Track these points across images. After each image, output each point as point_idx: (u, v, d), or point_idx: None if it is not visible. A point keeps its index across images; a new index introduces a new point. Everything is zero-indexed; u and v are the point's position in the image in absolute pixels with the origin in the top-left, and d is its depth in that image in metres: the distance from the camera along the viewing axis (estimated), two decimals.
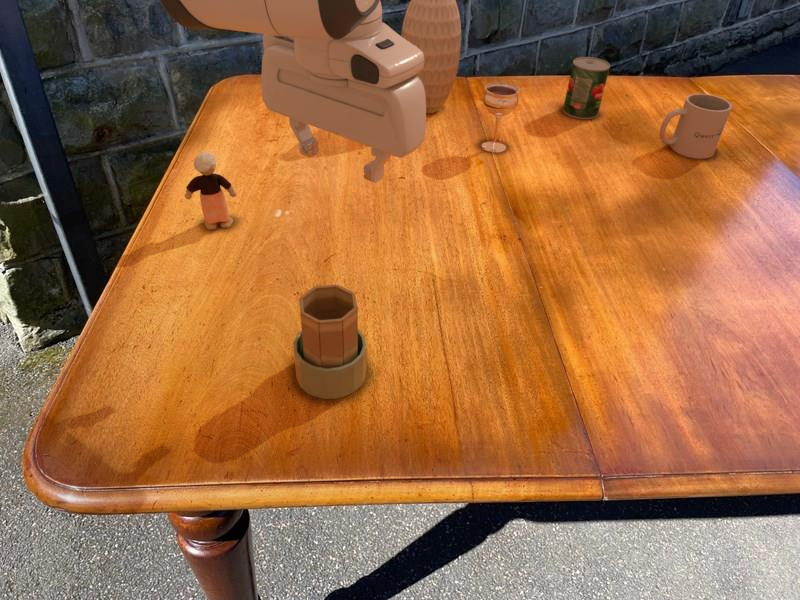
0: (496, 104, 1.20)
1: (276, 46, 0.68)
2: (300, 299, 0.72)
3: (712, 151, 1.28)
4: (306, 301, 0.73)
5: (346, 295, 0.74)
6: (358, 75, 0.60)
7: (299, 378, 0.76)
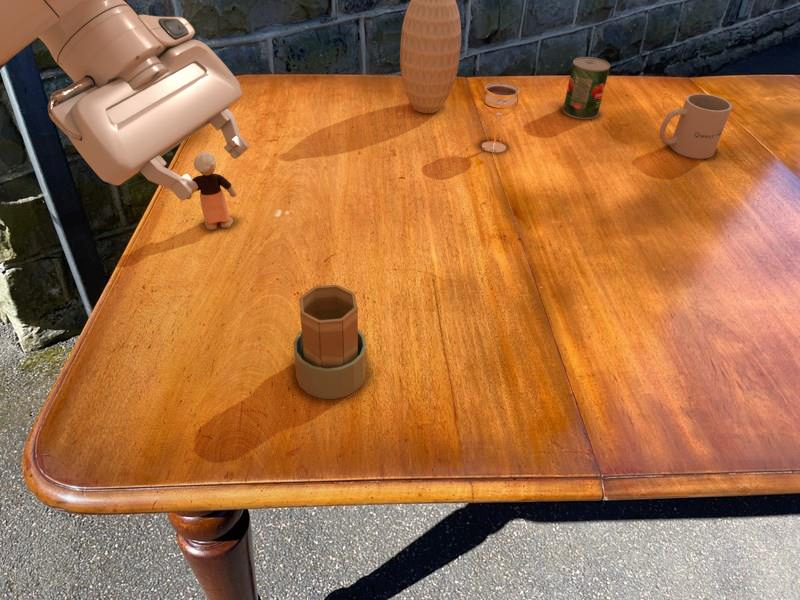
0: (496, 104, 1.20)
1: None
2: (300, 299, 0.72)
3: (712, 151, 1.28)
4: (306, 301, 0.73)
5: (346, 295, 0.74)
6: (175, 34, 0.64)
7: (299, 378, 0.76)
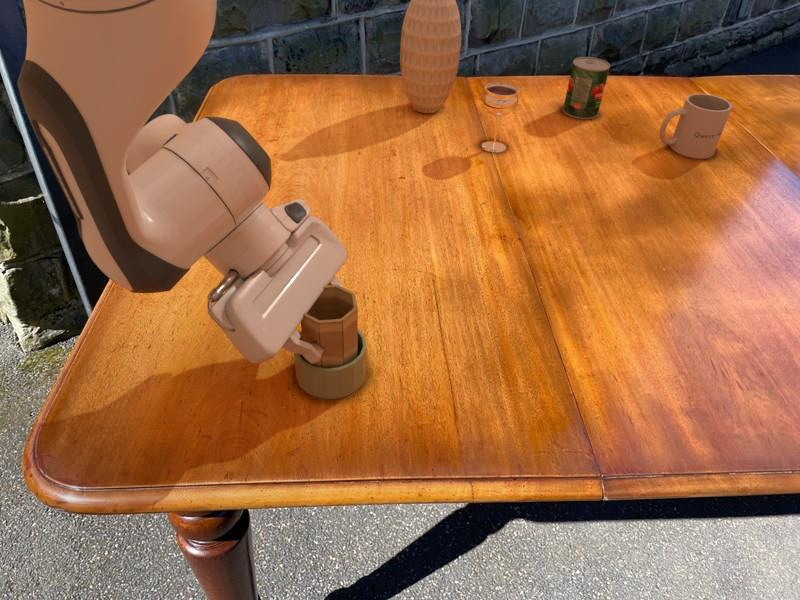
0: (496, 104, 1.20)
1: (231, 296, 0.65)
2: None
3: (712, 151, 1.28)
4: None
5: (346, 295, 0.74)
6: (297, 218, 0.73)
7: (299, 378, 0.76)
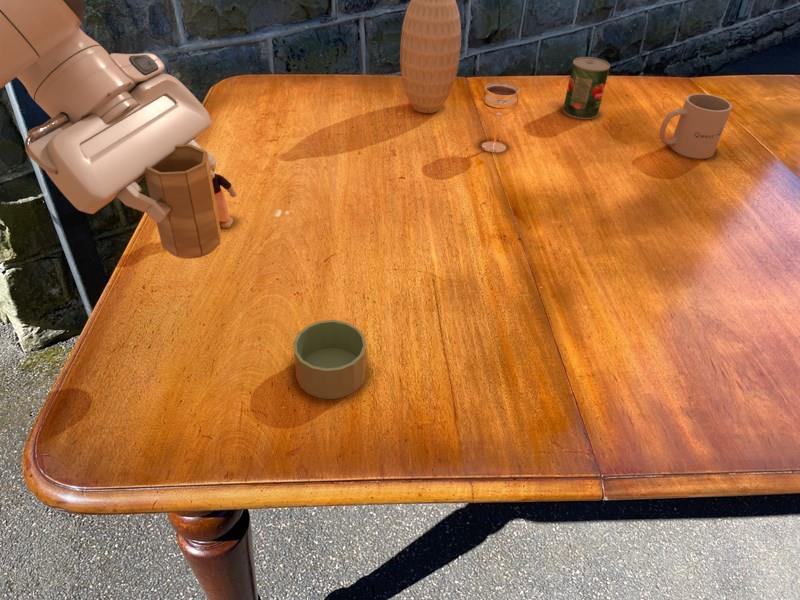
0: (496, 104, 1.20)
1: None
2: None
3: (712, 151, 1.28)
4: None
5: (199, 154, 0.69)
6: (145, 70, 0.68)
7: (299, 378, 0.76)
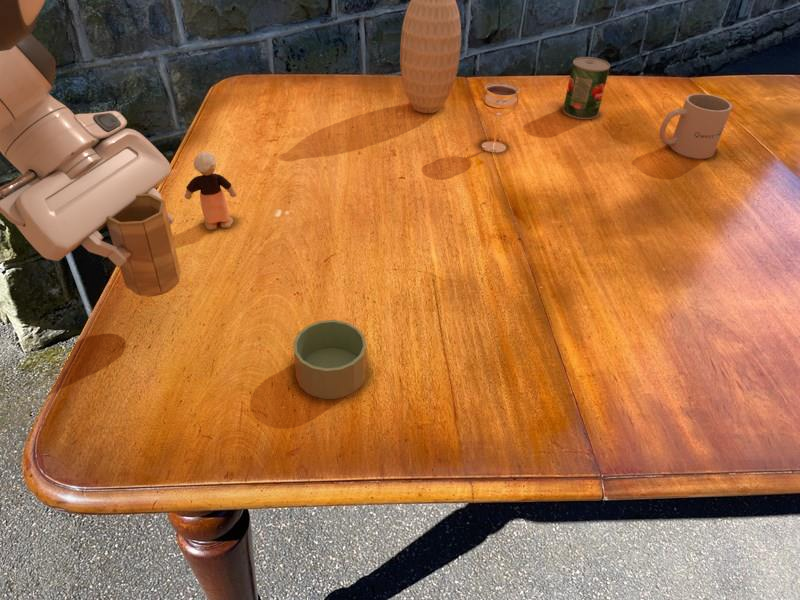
0: (496, 104, 1.20)
1: (22, 192, 0.67)
2: None
3: (712, 151, 1.28)
4: None
5: (157, 203, 0.76)
6: (108, 127, 0.75)
7: (299, 378, 0.76)
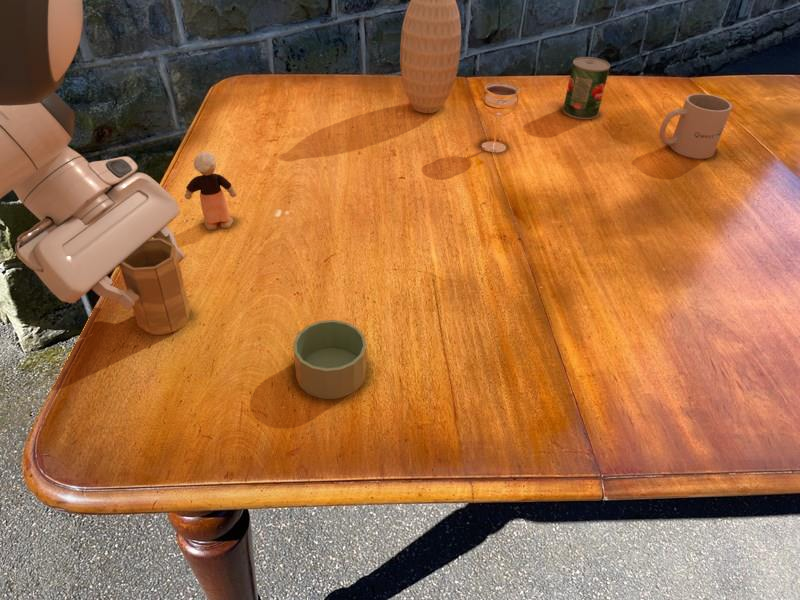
0: (496, 104, 1.20)
1: (40, 240, 0.71)
2: None
3: (712, 151, 1.28)
4: None
5: (168, 247, 0.80)
6: (120, 173, 0.79)
7: (299, 378, 0.76)
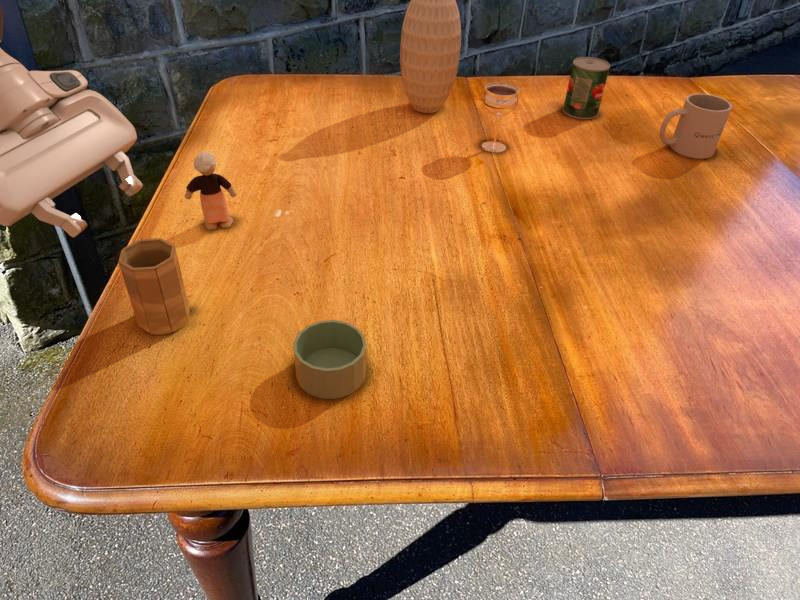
0: (496, 104, 1.20)
1: None
2: (122, 250, 0.78)
3: (712, 151, 1.28)
4: (130, 252, 0.80)
5: (168, 247, 0.80)
6: (66, 87, 0.70)
7: (299, 378, 0.76)
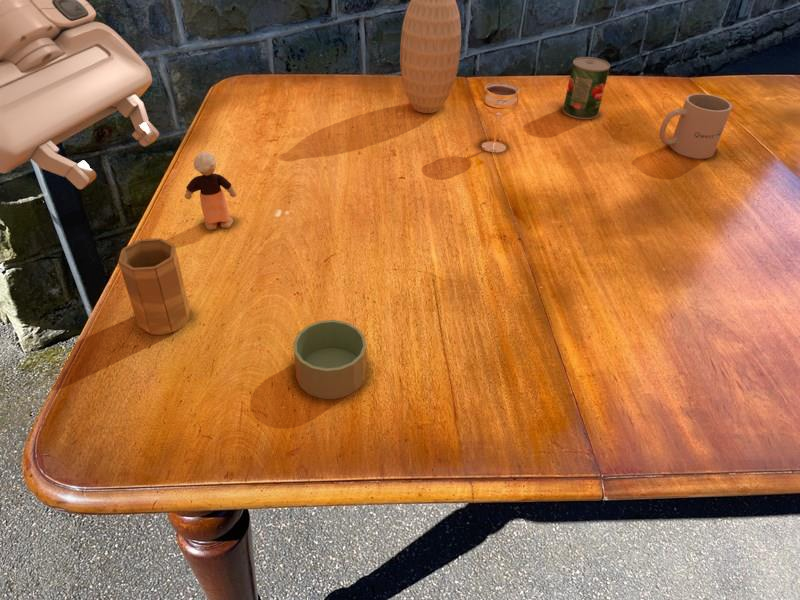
0: (496, 104, 1.20)
1: None
2: (122, 250, 0.78)
3: (712, 151, 1.28)
4: (130, 252, 0.80)
5: (168, 247, 0.80)
6: (71, 15, 0.60)
7: (299, 378, 0.76)
